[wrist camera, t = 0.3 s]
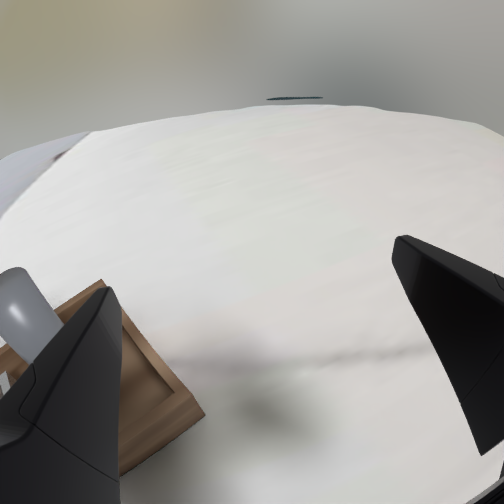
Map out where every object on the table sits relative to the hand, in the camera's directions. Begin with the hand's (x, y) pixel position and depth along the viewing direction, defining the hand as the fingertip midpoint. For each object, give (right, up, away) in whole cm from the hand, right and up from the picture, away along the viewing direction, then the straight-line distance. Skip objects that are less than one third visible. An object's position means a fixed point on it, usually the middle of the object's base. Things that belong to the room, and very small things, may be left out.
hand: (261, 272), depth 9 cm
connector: (-13, -11, +13) cm, 22 cm away
